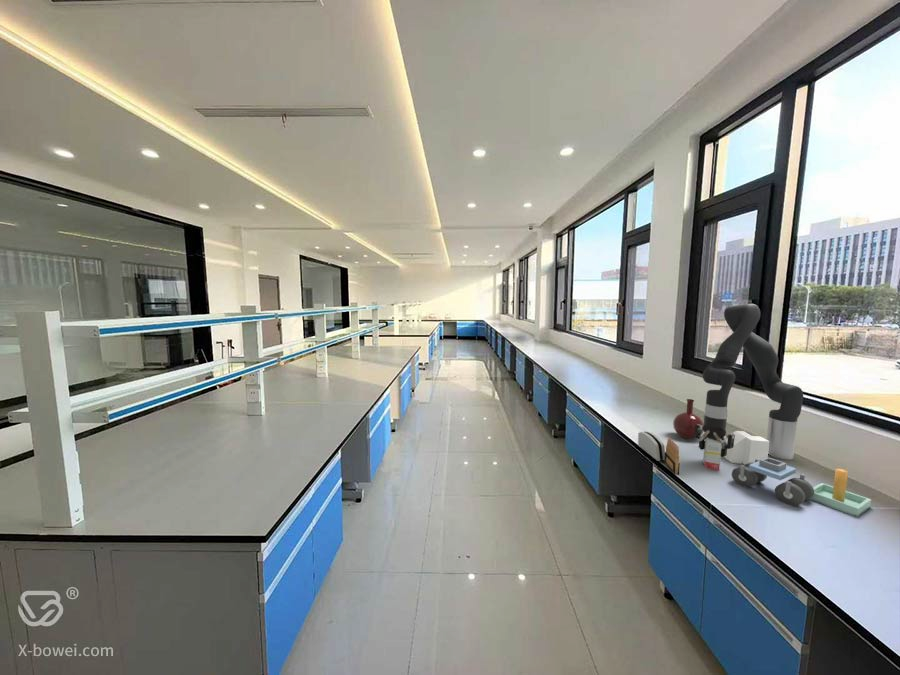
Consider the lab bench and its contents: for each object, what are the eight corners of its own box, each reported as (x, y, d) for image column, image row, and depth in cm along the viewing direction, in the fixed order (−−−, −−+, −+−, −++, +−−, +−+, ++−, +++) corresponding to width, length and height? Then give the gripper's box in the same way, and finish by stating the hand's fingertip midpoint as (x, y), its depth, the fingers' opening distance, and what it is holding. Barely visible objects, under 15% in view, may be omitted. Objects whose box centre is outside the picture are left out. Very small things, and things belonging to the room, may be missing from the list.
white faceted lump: (766, 469, 144) (769, 441, 143) (735, 466, 147) (738, 439, 145) (750, 457, 155) (752, 431, 154) (721, 455, 157) (723, 429, 156)
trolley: (745, 475, 139) (748, 448, 137) (814, 501, 121) (818, 469, 120) (729, 482, 133) (732, 453, 132) (799, 510, 115) (802, 477, 114)
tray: (820, 490, 128) (821, 482, 128) (870, 507, 117) (871, 499, 117) (806, 498, 123) (807, 490, 122) (857, 517, 112) (858, 508, 112)
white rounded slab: (669, 463, 149) (667, 441, 148) (657, 464, 149) (656, 442, 148) (648, 447, 165) (647, 427, 164) (638, 448, 166) (636, 428, 165)
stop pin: (833, 497, 122) (837, 468, 121) (845, 501, 119) (849, 471, 118) (830, 499, 121) (834, 469, 119) (842, 504, 118) (846, 473, 117)
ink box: (719, 471, 142) (722, 443, 141) (705, 468, 145) (707, 440, 144) (716, 462, 150) (719, 436, 148) (702, 460, 152) (705, 434, 151)
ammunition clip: (679, 475, 139) (681, 447, 137) (673, 475, 139) (676, 446, 138) (668, 463, 149) (670, 436, 148) (664, 463, 149) (665, 436, 148)
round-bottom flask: (702, 436, 179) (705, 398, 177) (704, 445, 168) (707, 405, 166) (672, 431, 186) (674, 395, 184) (672, 439, 175) (675, 401, 173)
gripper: (691, 411, 150) (689, 448, 151) (730, 421, 137) (727, 461, 139) (701, 409, 153) (698, 445, 155) (740, 419, 140) (736, 457, 142)
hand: (712, 452), depth 147 cm, fingers open, 7 cm apart
